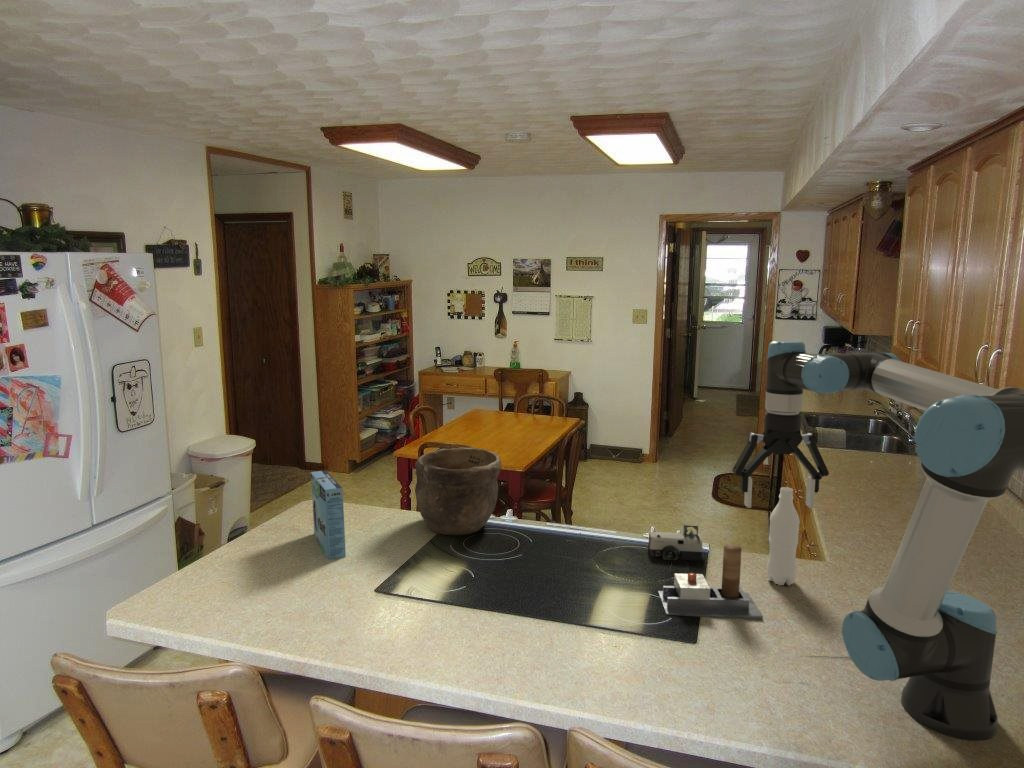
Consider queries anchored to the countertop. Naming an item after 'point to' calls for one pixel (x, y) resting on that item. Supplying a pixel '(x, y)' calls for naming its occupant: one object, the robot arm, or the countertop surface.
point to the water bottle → (783, 539)
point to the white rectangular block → (692, 586)
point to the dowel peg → (731, 571)
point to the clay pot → (457, 489)
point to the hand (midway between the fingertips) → (778, 506)
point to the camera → (676, 545)
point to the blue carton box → (328, 514)
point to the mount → (710, 605)
